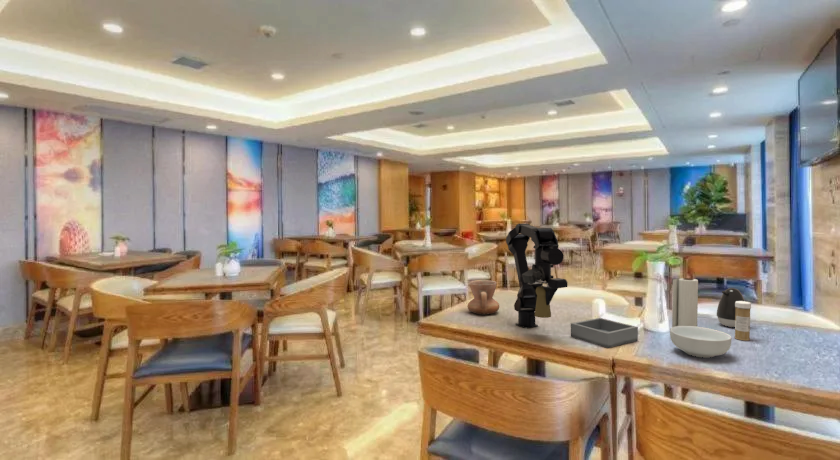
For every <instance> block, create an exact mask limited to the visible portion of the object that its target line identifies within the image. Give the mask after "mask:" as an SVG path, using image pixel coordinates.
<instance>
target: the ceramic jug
mask: <svg viewBox="0 0 840 460" xmlns="http://www.w3.org/2000/svg"><path fill="white" fill-rule="evenodd" d="M469 288H470V290H471V293H472V296H473V298H472V299H471V300H470V301H469V302H467V309H468V310H469V311H470V312H471V313H474V314H477V315H492V314H495V313H497V312H498V311H499V310H500V304H499V302H498V301H497V300H496V299H494V295H495V292H496V288H497V281H493V280H490V279H488V280H487V279H486V280H484V279H478V280H476V279H475V280H472V281H469Z"/></svg>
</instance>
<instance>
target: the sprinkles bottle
mask: <svg viewBox="0 0 840 460" xmlns="http://www.w3.org/2000/svg"><path fill="white" fill-rule="evenodd" d="M735 308H736V313H735V328H734V338H735V340H737V341H738V340H739V341H745V342H746V341H750V340H751V338H750V337H751V335H750V333H751V308H752V303H751V302H750V301H736V302H735Z"/></svg>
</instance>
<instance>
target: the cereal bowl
mask: <svg viewBox="0 0 840 460" xmlns="http://www.w3.org/2000/svg"><path fill="white" fill-rule="evenodd" d="M669 330H670V331H669V335H670V336H669V337H670V341H671V342H672V344H673V345H674V346H675V347H676V348H678V349H679V350H680V351H683V352H684V353H685V354H686V355H689V356H691V355H692V357H695V356H696V357H697V358H702V357H703V359H704V358H705V359H708V358H709V359H711V358H713V357H715V356H716V357H717V356H721V355H722V356H723V355H724V354H726V353H727V352H728V351H729V350H730V348H731V346H732V336H731V335H730V334H728V333H726V332H723V331H721V330H716V329H713V328H708V327H702V326H697V327H695V326H676V327H673V328H672V327H671V328H670V329H669ZM710 357H711V358H710Z"/></svg>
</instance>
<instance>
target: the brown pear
mask: <svg viewBox="0 0 840 460" xmlns="http://www.w3.org/2000/svg"><path fill="white" fill-rule="evenodd" d="M543 287H547V285H543V286H538V287H537V288H536V294H537V300H536V308H535V315H534V316H535V318H540V319H541V318H543V319H547V318H549V319H550V318H551V317H552V312H551V311H552V310H551V305H550V304H551V303H550V304H549V305H546V292H545V290H544V288H543Z"/></svg>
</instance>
